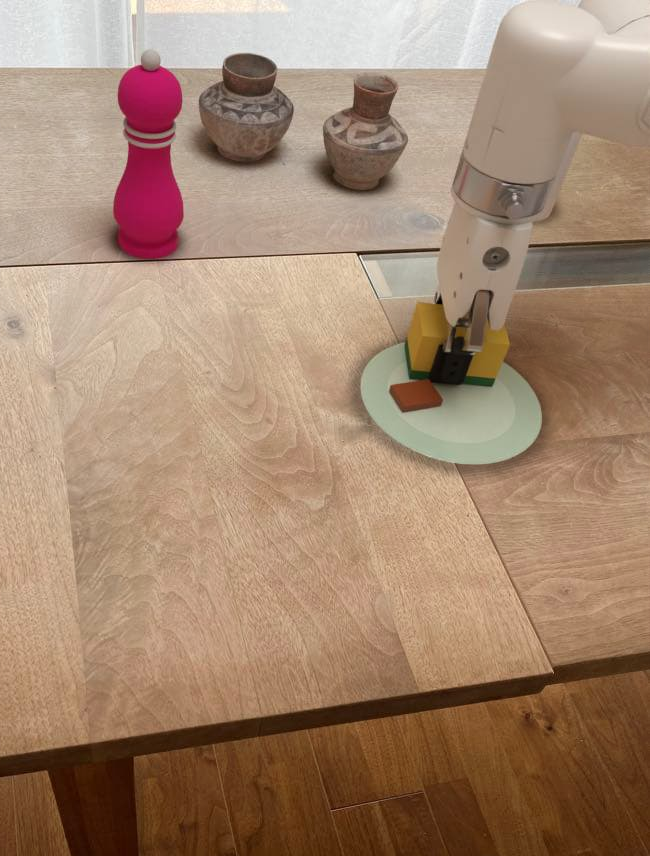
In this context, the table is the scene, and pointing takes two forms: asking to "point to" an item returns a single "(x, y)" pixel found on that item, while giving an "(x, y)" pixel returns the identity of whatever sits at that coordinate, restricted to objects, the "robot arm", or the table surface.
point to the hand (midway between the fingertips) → (442, 360)
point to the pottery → (272, 114)
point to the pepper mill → (149, 161)
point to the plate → (454, 413)
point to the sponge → (431, 332)
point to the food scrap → (415, 395)
